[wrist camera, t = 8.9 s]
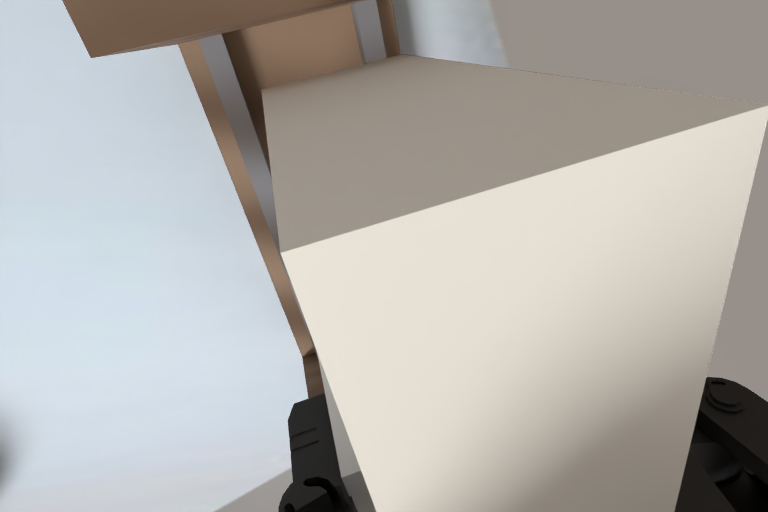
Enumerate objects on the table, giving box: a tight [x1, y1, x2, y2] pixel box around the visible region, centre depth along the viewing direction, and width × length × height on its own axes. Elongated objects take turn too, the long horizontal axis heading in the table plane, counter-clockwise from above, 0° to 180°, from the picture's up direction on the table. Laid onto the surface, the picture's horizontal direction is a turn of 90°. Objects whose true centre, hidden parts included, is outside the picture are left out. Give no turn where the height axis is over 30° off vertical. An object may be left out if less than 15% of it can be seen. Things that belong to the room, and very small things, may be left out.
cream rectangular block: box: [261, 54, 768, 512], centre depth 11 cm, size 16×4×10 cm, turn 12°
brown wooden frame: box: [62, 0, 401, 398], centre depth 20 cm, size 22×10×14 cm, turn 12°
